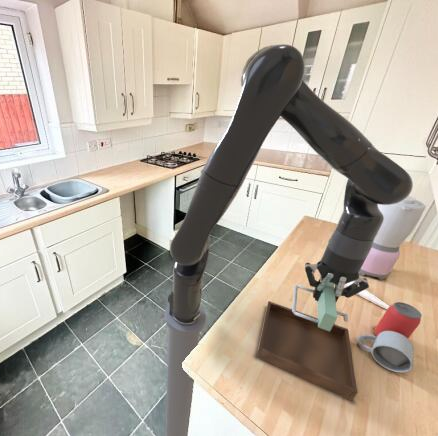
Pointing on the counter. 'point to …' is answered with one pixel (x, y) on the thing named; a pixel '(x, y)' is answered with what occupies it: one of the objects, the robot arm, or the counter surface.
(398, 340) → the ceramic mug
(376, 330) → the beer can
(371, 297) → the unicorn horn
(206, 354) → the counter surface
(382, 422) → the counter surface
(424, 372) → the counter surface
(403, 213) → the blender
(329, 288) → the hanger
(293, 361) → the tray
